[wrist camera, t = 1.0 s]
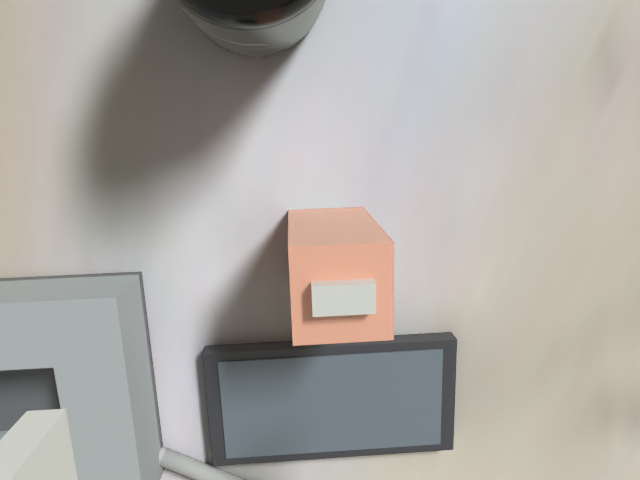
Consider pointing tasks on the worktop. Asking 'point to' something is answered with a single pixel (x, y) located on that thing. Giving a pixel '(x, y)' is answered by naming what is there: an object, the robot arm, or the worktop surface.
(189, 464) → the cable
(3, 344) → the outlet plate
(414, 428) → the phone
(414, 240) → the worktop surface
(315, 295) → the block
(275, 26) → the supplement bottle
